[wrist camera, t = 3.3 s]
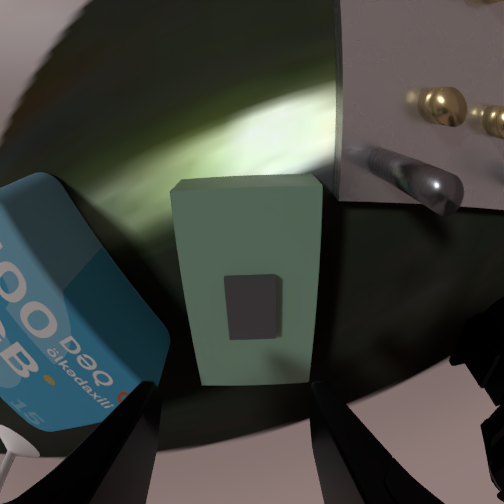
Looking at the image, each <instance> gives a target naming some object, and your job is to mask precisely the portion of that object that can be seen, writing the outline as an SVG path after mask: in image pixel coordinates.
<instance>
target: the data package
mask: <svg viewBox="0 0 504 504" xmlns="http://www.w3.org/2000/svg"><path fill="white" fill-rule="evenodd" d="M169 346H170V335H169V332H168V330H167V328H166V327H165V325H164V324H163V323H162V322H161V320H160V319H159V318H158V317H157V316H156V314H155V313H154V312H153V311H152V310H151V308H150V307H149V306H148V305H147V303H146V302H145V301H144V300H143V298H142V297H141V296H140V295H139V293H138V292H137V291H136V290H135V288H134V287H133V286H132V284H131V283H130V282H129V281H128V279H127V278H126V277H125V275H124V274H123V273H122V271H121V270H120V269H119V267H118V266H117V265H116V263H115V262H114V261H113V259H112V258H111V257H110V255H109V254H108V252H107V251H106V250H105V248H104V247H103V245H102V244H101V243H100V241H99V240H98V238H97V237H96V236H95V234H94V233H93V231H92V230H91V228H90V227H89V225H88V224H87V222H86V221H85V220H84V218H83V217H82V215H81V214H80V212H79V211H78V209H77V207H76V206H75V204H74V203H73V201H72V200H71V198H70V197H69V195H68V194H67V192H66V190H65V189H64V187H63V186H62V184H61V183H60V182H59V181H58V180H57V179H56V178H55V177H53V176H52V175H50V174H47V173H42V172H41V173H34V174H32V175H29V176H27V177H25V178H22V179H20V180H18V181H15V182H13V183H11V184H9V185H6V186H4V187H2V188H0V397H1V398H2V399H3V400H4V401H5V402H6V403H7V404H8V405H9V406H10V407H11V408H12V409H14V410H15V411H16V412H17V413H18V414H19V415H20V416H21V417H22V418H23V419H25V420H26V421H27V422H28V423H30V424H31V425H33V426H35V427H36V428H38V429H41V430H44V431H48V432H52V431H58V430H64V429H69V428H75V427H80V426H85V425H90V424H94V423H99V422H102V421H103V420H104V419H105V418H106V417H107V416H108V415H109V414H110V413H111V412H112V411H113V410H114V409H115V408H116V407H117V406H118V405H119V404H120V403H121V402H122V401H123V400H124V399H125V398H126V397H127V396H128V395H129V394H130V393H131V392H132V391H133V390H134V389H135V388H136V387H137V386H138V384H139V383H140V382H142V381H153V382H155V383H156V384H157V387H158V385H159V381H160V378H161V374H162V370H163V367H164V363H165V360H166V356H167V353H168V349H169Z"/></svg>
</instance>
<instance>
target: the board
mask: <svg viewBox="0 0 504 504" xmlns="http://www.w3.org/2000/svg"><path fill="white" fill-rule="evenodd" d="M322 195H323V185H322V184H321V183H320V182H319V181H318V180H317V179H316V178H315V177H314V176H313V175H312V174H280V175H249V176H228V177H210V178H195V179H182V180H181V181H180V182H179V183H178V184H177V185H176V186H175V187H174V188H173V189H172V190H171V191H170V198H171V206H172V214H173V222H174V230H175V237H176V244H177V251H178V258H179V265H180V271H181V277H182V284H183V290H184V296H185V302H186V307H187V313H188V318H189V324H190V329H191V335H192V340H193V345H194V350H195V355H196V360H197V365H198V369H199V374H200V379H201V383H202V385H215V386H231V385H270V384H289V383H304V382H309V375H310V367H311V358H312V348H313V338H314V328H315V317H316V305H317V292H318V278H319V263H320V245H321V224H322Z"/></svg>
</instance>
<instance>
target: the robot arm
mask: <svg viewBox="0 0 504 504" xmlns="http://www.w3.org/2000/svg"><path fill="white" fill-rule="evenodd" d="M456 351H457V353H458V355H456V356H454V357H452V358H450V359H449V363H450V364H451V366H457V365H461V364H466V366H467V367H468V369H469V370H470V372H471V374H472V375H473V377H474V378H475V380H476V381H477V383H478V385H479V386H480V387H481V388H485V390H486V392H487V393H488V394H489V396H490V398H491V400H492V401H493V403H494V404H495V406H498V405H500V406H499V407H498V408H497V409H496V410H495V411H494V413H493V414H492V415H491V416H490V417H489V418H488V419H486V420H485V421H484V422H483V423H482V424H481V430H482V435H483V439H484V444H485V450H486V455H487V461H488V466H489V473H490V477H491V480H492V482H493V483H494V485H495V486H496V488H497V489H498V490H499V491H500V492H499V493H498V494H497V497H498V498H499V499H500V500H501V501H503V502H504V297H503V298H501V299H499V300H498V301H496V302H495V303H494V304H492V305H491V306H490V307H489V308H488V309H487V310H486V311H485V312H483V313H478V314H477V315H476V316H475V317H474V318H470V319H469V320H468V321H467V322H466V325H465V327H464V330H463V332H462V335H461V337H460V340H459V342H458V344H457V347H456ZM308 405H309V416H310V428H311V439H312V448H313V454H314V458H315V463H316V467H317V471H318V476H319V481H320V485H321V490H322V494H323V499H324V504H444V503H443V502H442V501H441V500H439V499H438V498H437V497H435V496H434V495H433V494H432V493H431V492H429V491H428V490H427V489H426V488H424V487H423V486H422V485H421V484H420V483H419V482H417V481H416V480H415V479H414V478H413V477H412V476H411V475H410V474H409V473H408V472H407V471H406V470H405V469H404V468H403V467H402V466H401V465H400V464H399V463H398V462H397V461H396V459H395V458H392V455H391V454H390V453H389V452H388V451H387V450H386V449H385V448H384V447H383V445H382V444H381V443H380V442H379V441H378V440H377V439H376V438H375V436H374V435H373V434H372V433H371V432H370V431H369V430H368V429H367V428H366V426H365V425H364V424H363V423H362V422H361V421H360V420H359V419H358V417H357V416H356V415H355V414H354V413H353V412H352V411H351V409H350V408H349V407H348V406H347V405H346V404H345V403H344V401H343V400H342V399H341V398H340V397H339V396H338V395H337V393H336V392H335V391H334V390H333V389H332V388H331V387H330V385H329V384H328V383H327V382H325V381H317V382H312V384H311V388H310V394H309V400H308ZM161 406H162V400H161V396H160V393H159V390H158V387H157V384H156V383H155V382H153V381H142V382H140V383H139V384H138V386H137V387H136V388H135V389H134V390H133V391H132V392H131V393H130V394H129V395H128V396H127V397H126V398H125V399H124V400H123V401H122V402H121V403H120V404H119V405H118V406H117V407H116V408H115V409H114V410H113V411H112V412H111V413H110V414H109V415H108V416H107V417H106V418H105V419H104V420H103V421H102V422H101V423H100V424H99V425H98V426H97V427H96V428H95V429H94V430H93V431H92V432H91V433H90V434H89V435H88V436H87V437H86V438H85V439H84V440H83V441H82V442H81V443H80V444H79V445H78V446H77V447H76V448H75V449H74V450H73V453H70V454H69V455H68V456H67V457H66V458H65V459H64V460H63V461H62V462H61V463H60V464H59V465H58V466H57V467H56V468H55V469H54V470H52V471H51V472H50V473H49V474H48V475H46V476H45V477H44V478H43V479H41V480H40V481H39V482H37V483H36V484H35V485H33V486H32V487H31V488H30V489H28V490H27V491H26V492H24V493H23V494H21V495H20V496H19V497H17V498H16V499H14V500H12V501H9V502H7V503H3V504H146V499H147V494H148V489H149V484H150V480H151V475H152V470H153V465H154V461H155V456H156V452H157V446H158V436H159V426H160V416H161Z"/></svg>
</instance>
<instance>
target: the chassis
mask: <svg viewBox="0 0 504 504" xmlns="http://www.w3.org/2000/svg"><path fill="white" fill-rule="evenodd" d="M334 18H335V44H336V132H335V160H334V180H333V196H334V197H335V198H336V199H337V200H338V201H358V202H389V203H412V204H423V205H425V206H426V207H428V208H429V209H431V210H432V211H434V212H436V213H437V214H439V215H441V216H449V215H451V214H453V213H455V212H456V211H457V210H458V208H459V207H460V206H462V207H475V208H487V209H499V210H504V0H334Z"/></svg>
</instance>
